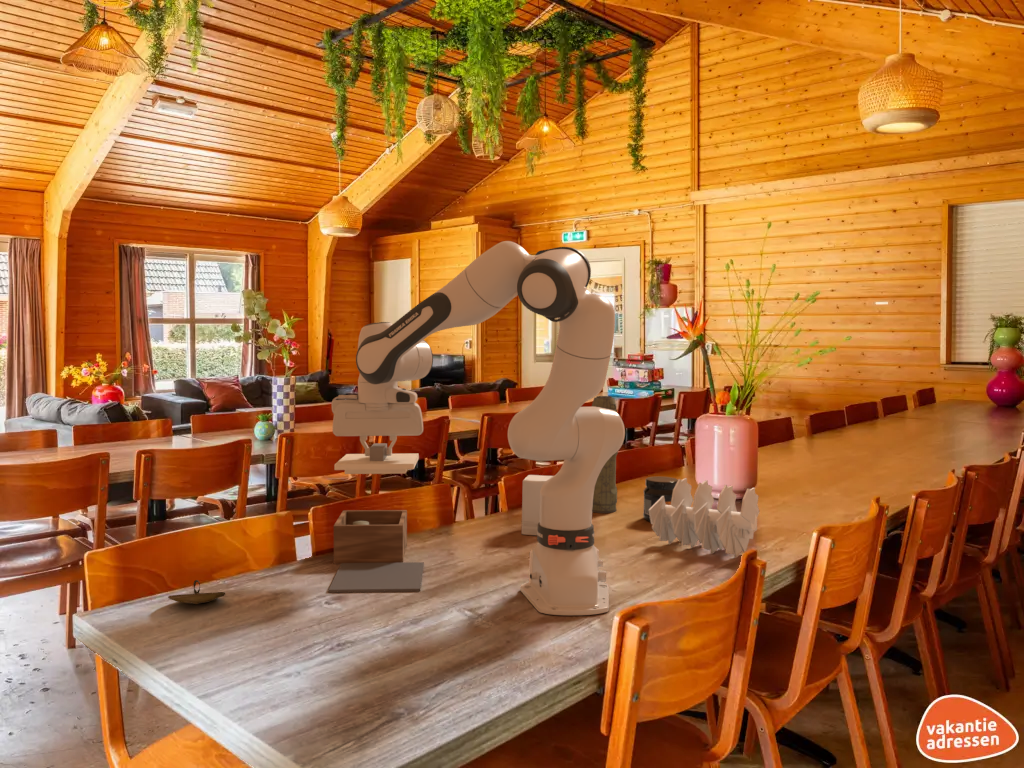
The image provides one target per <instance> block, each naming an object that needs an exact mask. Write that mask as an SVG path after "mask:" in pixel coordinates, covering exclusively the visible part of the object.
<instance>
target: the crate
mask: <svg viewBox="0 0 1024 768" xmlns="http://www.w3.org/2000/svg"><path fill="white" fill-rule="evenodd" d="M407 546H408V510H407V509H376V510H375V509H367V510H366V509H364V510H363V509H361V510H360V509H356V510H355V509H353V510H349V509H347V510H342V512H341V513H340V515H339V517H338V518H337V520H336V522H335V523H334V524H333V565H341V563H400V562H404V559H405V553H406V550H407Z"/></svg>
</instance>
